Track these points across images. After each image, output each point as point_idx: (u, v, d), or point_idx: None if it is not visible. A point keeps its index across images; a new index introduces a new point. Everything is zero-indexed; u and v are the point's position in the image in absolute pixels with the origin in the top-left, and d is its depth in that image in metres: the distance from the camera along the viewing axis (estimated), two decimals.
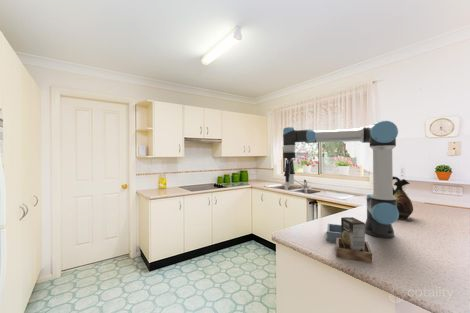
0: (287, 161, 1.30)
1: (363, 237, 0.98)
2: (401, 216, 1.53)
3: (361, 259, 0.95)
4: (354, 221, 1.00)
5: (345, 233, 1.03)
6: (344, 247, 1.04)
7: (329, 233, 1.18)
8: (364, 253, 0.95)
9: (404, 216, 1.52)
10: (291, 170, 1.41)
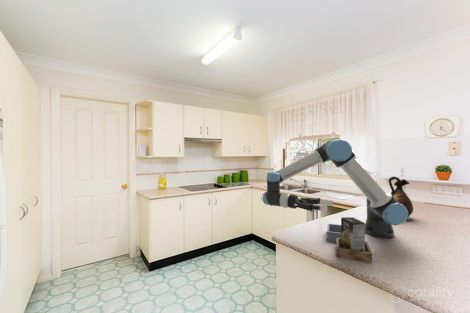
0: (295, 204, 1.11)
1: (363, 237, 0.98)
2: None
3: (361, 259, 0.95)
4: (354, 221, 1.00)
5: (345, 233, 1.03)
6: (344, 247, 1.04)
7: (329, 233, 1.18)
8: (364, 253, 0.95)
9: None
10: (314, 201, 1.18)
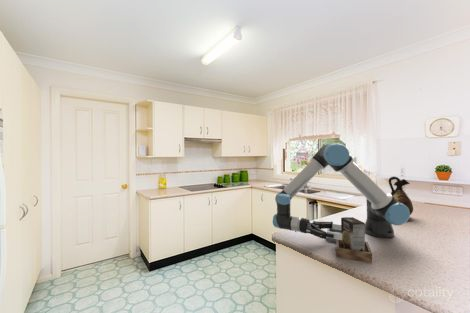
0: (307, 230, 1.08)
1: (363, 237, 0.98)
2: None
3: (361, 259, 0.95)
4: (354, 221, 1.00)
5: (345, 233, 1.03)
6: (344, 247, 1.04)
7: None
8: (364, 253, 0.95)
9: None
10: (326, 225, 1.14)
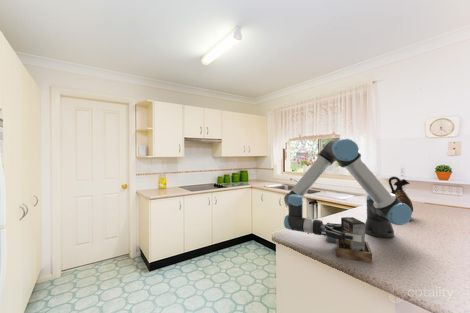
0: (323, 232, 1.04)
1: (363, 237, 0.98)
2: None
3: (361, 259, 0.95)
4: (354, 221, 1.00)
5: None
6: (344, 247, 1.04)
7: None
8: (364, 253, 0.95)
9: None
10: None
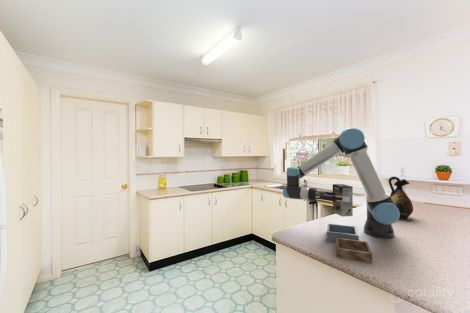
0: (317, 196, 1.20)
1: (351, 199, 1.15)
2: (401, 216, 1.53)
3: (361, 259, 0.95)
4: (343, 185, 1.17)
5: None
6: (335, 209, 1.20)
7: (329, 233, 1.18)
8: (364, 253, 0.95)
9: (404, 216, 1.52)
10: None
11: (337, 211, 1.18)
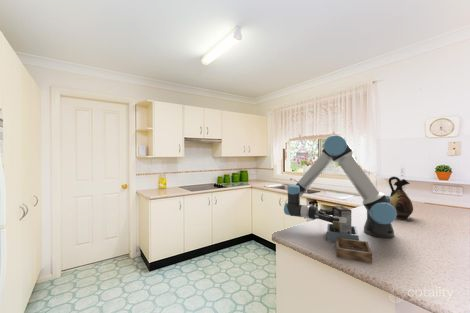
0: (316, 216, 1.23)
1: (350, 222, 1.17)
2: (401, 216, 1.53)
3: (361, 259, 0.95)
4: (342, 208, 1.19)
5: None
6: (335, 231, 1.23)
7: (329, 233, 1.18)
8: (364, 253, 0.95)
9: (404, 216, 1.52)
10: None
11: None
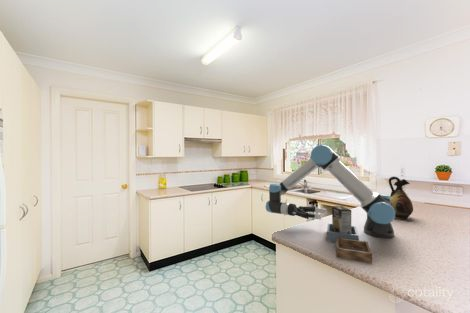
0: (294, 212, 1.30)
1: (350, 222, 1.17)
2: (401, 216, 1.53)
3: (361, 259, 0.95)
4: (342, 208, 1.19)
5: (335, 219, 1.22)
6: (335, 231, 1.23)
7: (329, 233, 1.18)
8: (364, 253, 0.95)
9: (404, 216, 1.52)
10: (310, 209, 1.37)
11: None
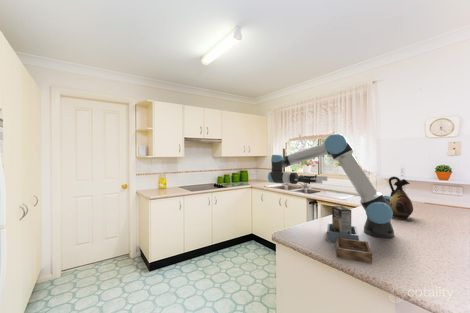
0: (295, 179, 1.33)
1: (350, 222, 1.17)
2: (401, 216, 1.53)
3: (361, 259, 0.95)
4: (342, 208, 1.19)
5: (335, 219, 1.22)
6: (335, 231, 1.23)
7: (329, 233, 1.18)
8: (364, 253, 0.95)
9: (404, 216, 1.52)
10: (311, 177, 1.40)
11: None
